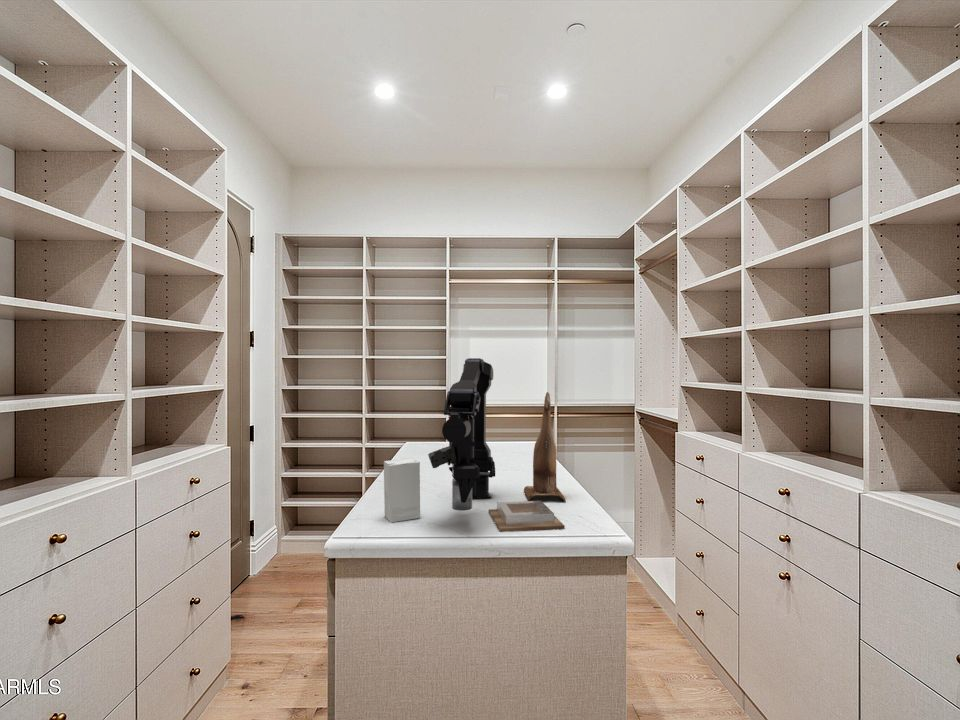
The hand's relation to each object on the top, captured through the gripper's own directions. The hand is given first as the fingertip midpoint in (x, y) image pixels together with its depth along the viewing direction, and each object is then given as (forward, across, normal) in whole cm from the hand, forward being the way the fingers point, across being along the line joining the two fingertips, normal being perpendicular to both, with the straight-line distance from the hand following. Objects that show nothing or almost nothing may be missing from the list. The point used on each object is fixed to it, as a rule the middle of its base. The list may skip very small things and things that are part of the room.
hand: (462, 499), depth 124 cm
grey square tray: (+6, 0, +16) cm, 17 cm away
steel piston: (+2, 0, 0) cm, 2 cm away
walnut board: (+6, 0, +16) cm, 17 cm away
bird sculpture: (+6, -21, +27) cm, 35 cm away
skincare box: (+6, -6, -15) cm, 17 cm away
